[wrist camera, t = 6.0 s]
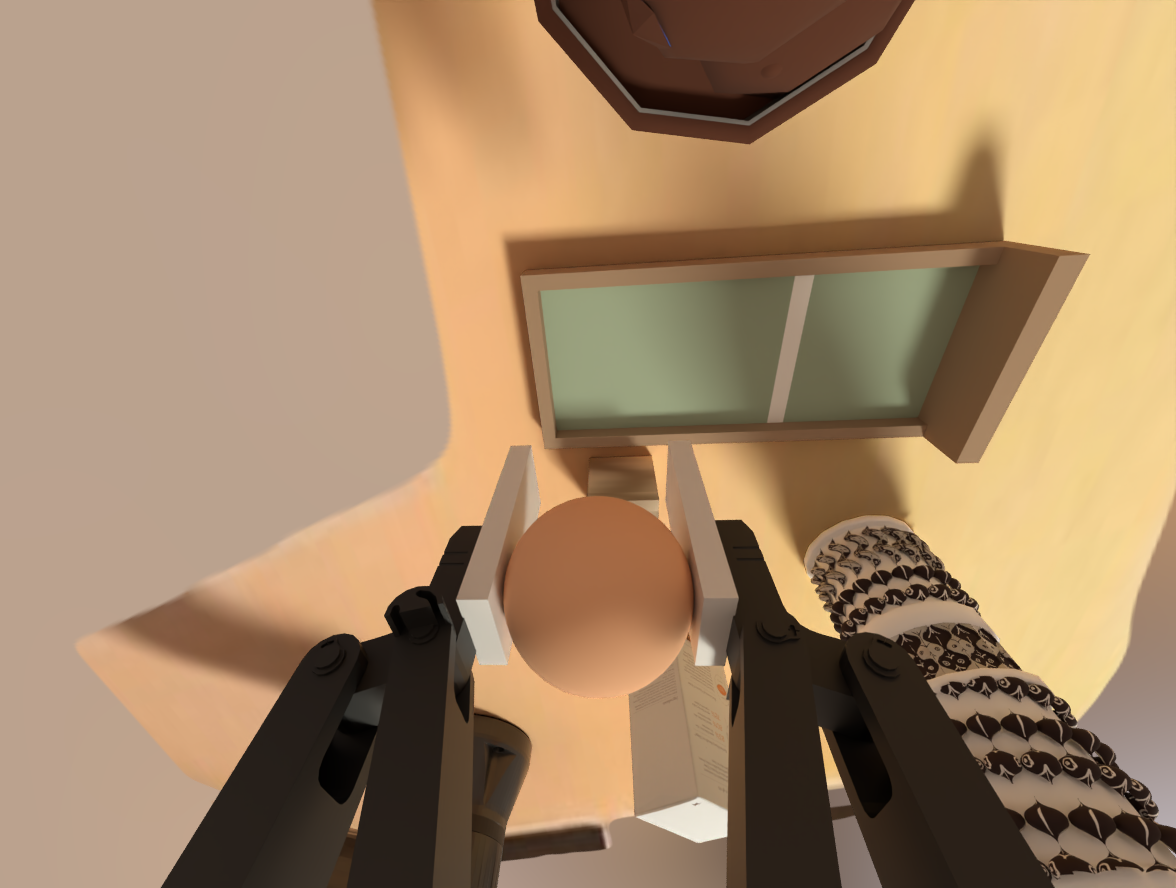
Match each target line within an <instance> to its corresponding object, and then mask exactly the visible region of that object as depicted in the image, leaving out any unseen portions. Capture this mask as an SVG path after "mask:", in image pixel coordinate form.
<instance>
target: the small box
mask: <svg viewBox="0 0 1176 888" xmlns="http://www.w3.org/2000/svg"><path fill="white" fill-rule="evenodd" d="M727 693H728V685H727V681H726V676H725V672H724V667H723V666H695V663H694V657H693V652H692V646H691V642H690V641H689V640H687V639H686V640H685V643H684V645H683V647H682V648H681V650H680V652H679V654H678V655H677V657H676V658H675V660H674V661H673V662H672V664H671V665H670V666H669V667H668V668H667V669H666V671H665V672H664V673H663V674H661V675H660V676H659V677H658V678H656V679H655V680H654V681H653V682H651V683H650V684H648V685H647V686H645V687H643V688H641V689H639V690H637V691H635V692H633V693H630V694H629V711H630V731H631V751H632V770H633V791H634V813H635V817H637V818H639V819H642V820H644V821H647V822H649V823H651V824H654V825H656V826H659V827H661V828H664V829H666V830H668V831H671V832H673V833H676V834H678V835H680V836H683V837H685V838H687V839H690V840H692V841H694V842H697V843H700V842H705V841H709V840H713V839H718V838H723V837H727V821H728V756H729V700H726V698H727Z"/></svg>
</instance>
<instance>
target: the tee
mask: <svg viewBox="0 0 1176 888" xmlns="http://www.w3.org/2000/svg"><path fill="white" fill-rule="evenodd" d="M589 496H607V497H614V498H619V499H623V500H626V501H629V502H632V503H634V504H636V505H638V506H640V507H642V508H644V509H645V510H647V511H649V512H650V513H652V514H653V515H654V516H655V517H657V518H658V516H659V497H658V490H657V484H656V478H655V472H654V466H653V460H652V456H629V457H597V458H590V459H589V476H588V493H587V497H589Z"/></svg>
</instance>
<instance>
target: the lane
mask: <svg viewBox="0 0 1176 888" xmlns="http://www.w3.org/2000/svg"><path fill="white" fill-rule="evenodd" d="M1089 255H1090V254H1085V253H1079V252H1072V251H1066V250H1060V249H1053V248H1047V247H1041V246H1034V245H1028V244H1022V243H1015V242H1009V241H993V242H977V243H961V244H944V245H928V246H912V247H895V248H879V249H863V250H846V251H830V252H814V253H797V254H781V255H765V256H748V257H732V258H716V259H700V260H683V261H667V262H651V263H634V264H618V265H602V266H585V267H569V268H553V269H536V270H525V271H524V272H523V273H522V274H521V276H520V278H521V285H522V292H523V299H524V306H525V314H526V321H527V328H528V335H529V342H530V349H531V356H532V363H533V370H534V377H535V384H536V391H537V398H538V405H539V412H540V419H541V426H542V433H543V440H544V447H545V449H561V448H591V447H621V446H652V445H668V441H685V440H690V442H691V444H712V443H743V442H773V441H803V440H834V439H864V438H894V437H924V438H926V439H927V440H928V441H929V442H930V443H932V444H933V445H934V446H935V447H937V448H938V449H939V450H940V451H941V452H943V453H944V454H945V455H946V456H948V457H949V458H950V459H951V460H952V461H954V462H955V463H979V461H980V459H981V457H982V455H983V453H984V451H985V450H986V448H987V446H988V444H989V442H990V440H991V438H992V437H993V435H994V433H995V431H996V429H997V427H998V425H999V423H1000V422H1001V420H1002V418H1003V416H1004V414H1005V412H1006V410H1007V408H1008V407H1009V405H1010V403H1011V401H1012V399H1013V397H1014V395H1015V393H1016V392H1017V390H1018V388H1019V386H1020V384H1021V382H1022V380H1023V379H1024V377H1025V375H1026V373H1027V371H1028V369H1029V367H1030V365H1031V364H1032V362H1033V360H1034V358H1035V356H1036V354H1037V352H1038V350H1039V349H1040V347H1041V345H1042V343H1043V341H1044V339H1045V337H1046V335H1047V334H1048V332H1049V330H1050V328H1051V326H1052V324H1053V322H1054V321H1055V319H1056V317H1057V315H1058V313H1059V311H1060V309H1061V307H1062V306H1063V304H1064V302H1065V300H1066V298H1067V296H1068V294H1069V292H1070V291H1071V289H1072V287H1073V285H1074V283H1075V281H1076V279H1077V277H1078V276H1079V274H1080V272H1081V270H1082V268H1083V266H1084V264H1085V263H1086V261H1087V259H1088V257H1089Z"/></svg>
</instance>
